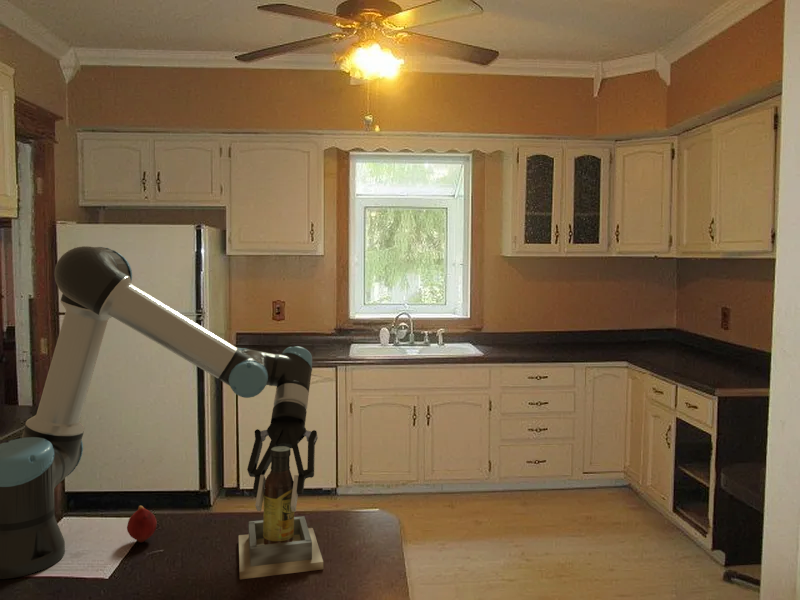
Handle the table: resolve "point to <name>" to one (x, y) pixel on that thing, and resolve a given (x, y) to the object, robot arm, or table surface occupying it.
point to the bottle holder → (278, 552)
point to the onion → (141, 524)
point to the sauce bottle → (278, 499)
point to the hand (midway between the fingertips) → (275, 508)
